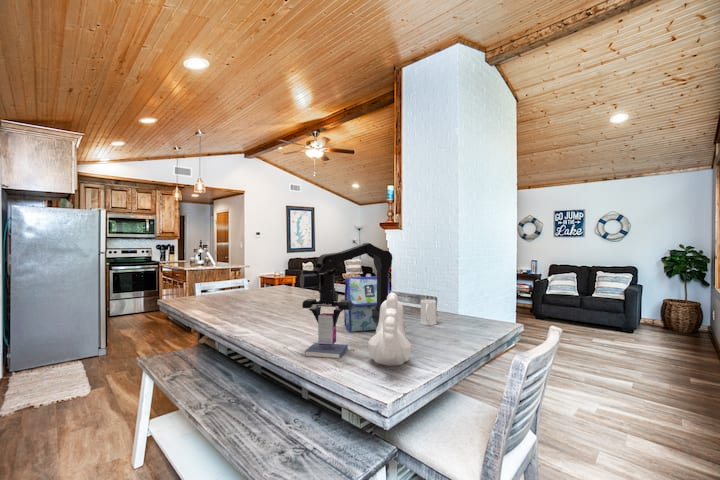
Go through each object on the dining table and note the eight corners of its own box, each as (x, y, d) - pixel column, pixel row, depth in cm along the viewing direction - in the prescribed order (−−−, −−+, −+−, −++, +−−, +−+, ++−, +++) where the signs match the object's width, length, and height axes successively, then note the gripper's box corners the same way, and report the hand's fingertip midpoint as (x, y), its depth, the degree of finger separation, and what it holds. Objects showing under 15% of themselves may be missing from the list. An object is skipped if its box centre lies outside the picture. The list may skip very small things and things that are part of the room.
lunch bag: (349, 334, 162) (349, 278, 162) (342, 325, 178) (342, 275, 178) (394, 331, 167) (394, 277, 167) (383, 323, 184) (383, 274, 184)
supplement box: (332, 345, 132) (331, 315, 132) (317, 345, 133) (317, 315, 134) (337, 342, 138) (336, 313, 138) (322, 341, 139) (322, 312, 139)
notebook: (347, 349, 139) (347, 344, 139) (340, 359, 129) (340, 353, 129) (314, 347, 143) (314, 342, 143) (304, 356, 132) (304, 351, 132)
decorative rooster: (375, 352, 137) (375, 289, 137) (415, 356, 132) (415, 291, 132) (354, 375, 113) (354, 299, 113) (402, 381, 108) (402, 302, 108)
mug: (433, 327, 175) (433, 303, 175) (416, 325, 178) (416, 302, 178) (438, 322, 186) (438, 300, 186) (422, 320, 189) (422, 299, 189)
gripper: (354, 284, 141) (355, 322, 141) (311, 283, 146) (312, 320, 146) (347, 288, 131) (348, 329, 131) (301, 286, 135) (301, 327, 135)
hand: (327, 326), depth 136 cm, fingers closed on supplement box, 6 cm apart
